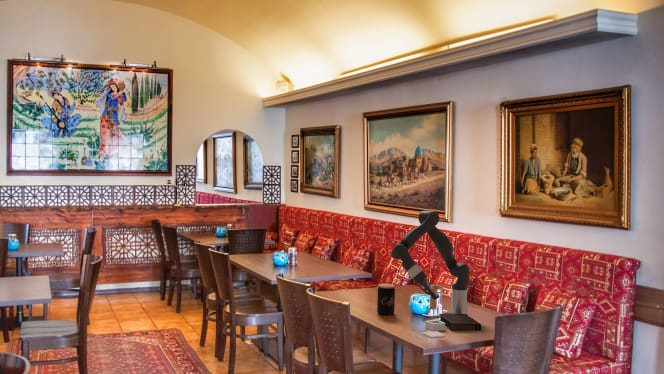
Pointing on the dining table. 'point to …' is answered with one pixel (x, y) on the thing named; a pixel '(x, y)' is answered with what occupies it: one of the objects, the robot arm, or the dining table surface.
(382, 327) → the dining table surface
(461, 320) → the diary
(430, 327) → the socket block
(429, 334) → the ceramic pad
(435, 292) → the crook peg
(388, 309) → the coffee jar
